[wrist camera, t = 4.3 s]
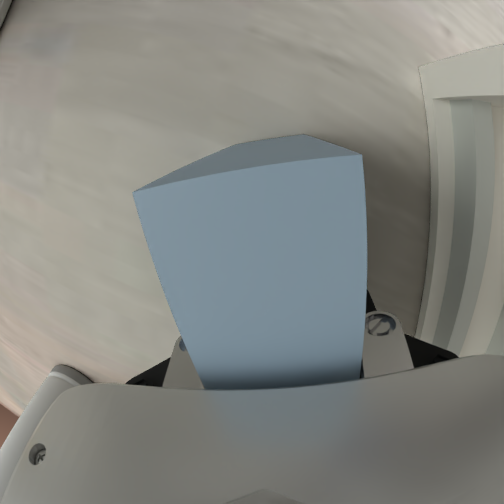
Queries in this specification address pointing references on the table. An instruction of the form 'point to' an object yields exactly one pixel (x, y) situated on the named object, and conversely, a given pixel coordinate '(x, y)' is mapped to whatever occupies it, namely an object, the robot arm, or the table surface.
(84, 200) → the table surface
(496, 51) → the track frame
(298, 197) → the door panel
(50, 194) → the table surface
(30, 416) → the travel mug
